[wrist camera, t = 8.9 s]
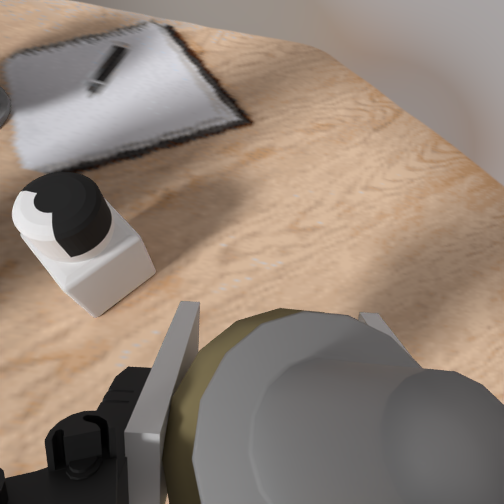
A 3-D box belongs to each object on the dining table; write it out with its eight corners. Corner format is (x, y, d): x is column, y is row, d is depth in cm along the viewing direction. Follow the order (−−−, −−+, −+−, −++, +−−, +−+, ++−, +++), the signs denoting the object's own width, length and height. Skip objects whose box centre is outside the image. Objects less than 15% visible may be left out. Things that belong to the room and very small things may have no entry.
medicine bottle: (117, 228, 37) (71, 145, 26) (158, 272, 35) (126, 201, 24) (55, 269, 34) (-23, 195, 24) (96, 320, 32) (29, 263, 22)
